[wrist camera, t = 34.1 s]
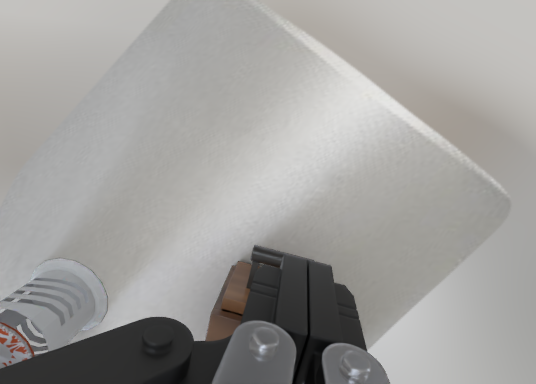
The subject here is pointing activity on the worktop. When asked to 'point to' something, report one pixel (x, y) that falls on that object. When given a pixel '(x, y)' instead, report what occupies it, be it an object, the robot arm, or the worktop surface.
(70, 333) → the french press
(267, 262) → the drawer
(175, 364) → the robot arm
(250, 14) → the worktop surface
